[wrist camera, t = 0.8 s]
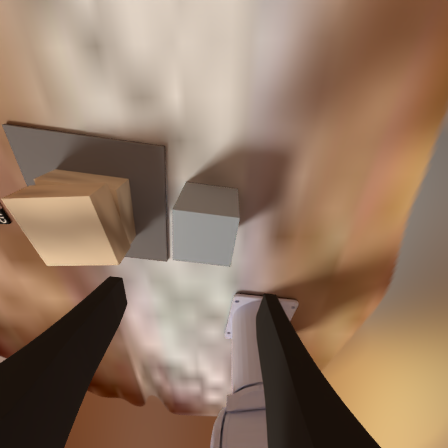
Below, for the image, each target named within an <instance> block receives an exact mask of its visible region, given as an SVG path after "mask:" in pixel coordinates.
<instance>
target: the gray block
mask: <svg viewBox="0 0 448 448" xmlns="http://www.w3.org/2000/svg"><path fill="white" fill-rule="evenodd" d="M239 220H240V212H239V198H238V189H235V188H228V187H220V186H213V185H205V184H198V183H190V182H186V183H185V185H184V187H183V189H182V191H181V193H180V195H179V197H178V199H177V201H176V203H175V205H174V207H173V209H172V222H173V260H176V261H185V262H194V263H202V264H211V265H220V266H229V267H230V265H231V260H232V255H233V250H234V245H235V240H236V235H237V230H238V225H239Z"/></svg>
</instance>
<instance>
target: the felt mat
mask: <svg viewBox="0 0 448 448" xmlns="http://www.w3.org/2000/svg"><path fill="white" fill-rule="evenodd" d="M2 126H3V129H4V131H5V133H6V136H7V138H8V141H9V143H10V146H11V148H12V150H13V153H14V155H15V158H16V160H17V163H18V165H19V167H20V170H21V172H22V175H23V177H24V180H25V182H26V184H27V186H29V185H35V182H34V179H35V178H37V177H39V176H41V175H44V174H46V173H48V172H51V171H53V170H55V169H58V170H65V171H73V172H81V173H88V174H96V175H103V176H111V177H119V178H126V179H129V184H130V192H131V200H132V208H133V216H134V223H135V231H136V237H135V238H134V240H133V241H132V243H131V244H130V246H131V247H130V249H129V250H128V252H127V253H126V255H125V256H124V257H131V258H140V259H149V260H157V261H166V262H167V260H168V256H167V217H166V178H165V146H160V145H153V144H146V143H139V142H131V141H124V140H117V139H110V138H103V137H96V136H88V135H81V134H74V133H67V132H60V131H53V130H45V129H38V128H31V127H24V126H17V125H9V124H2Z"/></svg>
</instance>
